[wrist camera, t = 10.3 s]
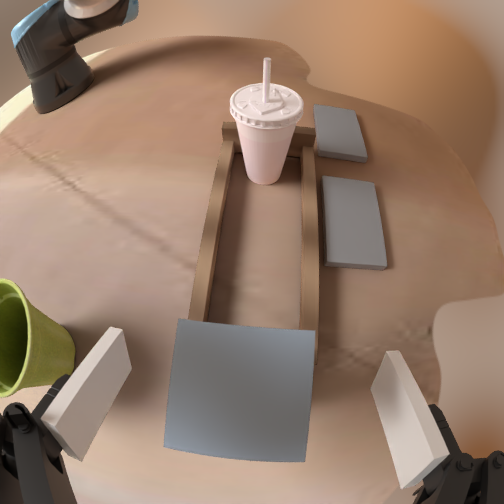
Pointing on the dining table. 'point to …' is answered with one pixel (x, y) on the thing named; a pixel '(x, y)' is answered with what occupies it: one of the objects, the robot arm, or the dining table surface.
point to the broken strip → (347, 196)
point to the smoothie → (265, 125)
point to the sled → (246, 346)
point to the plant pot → (30, 344)
